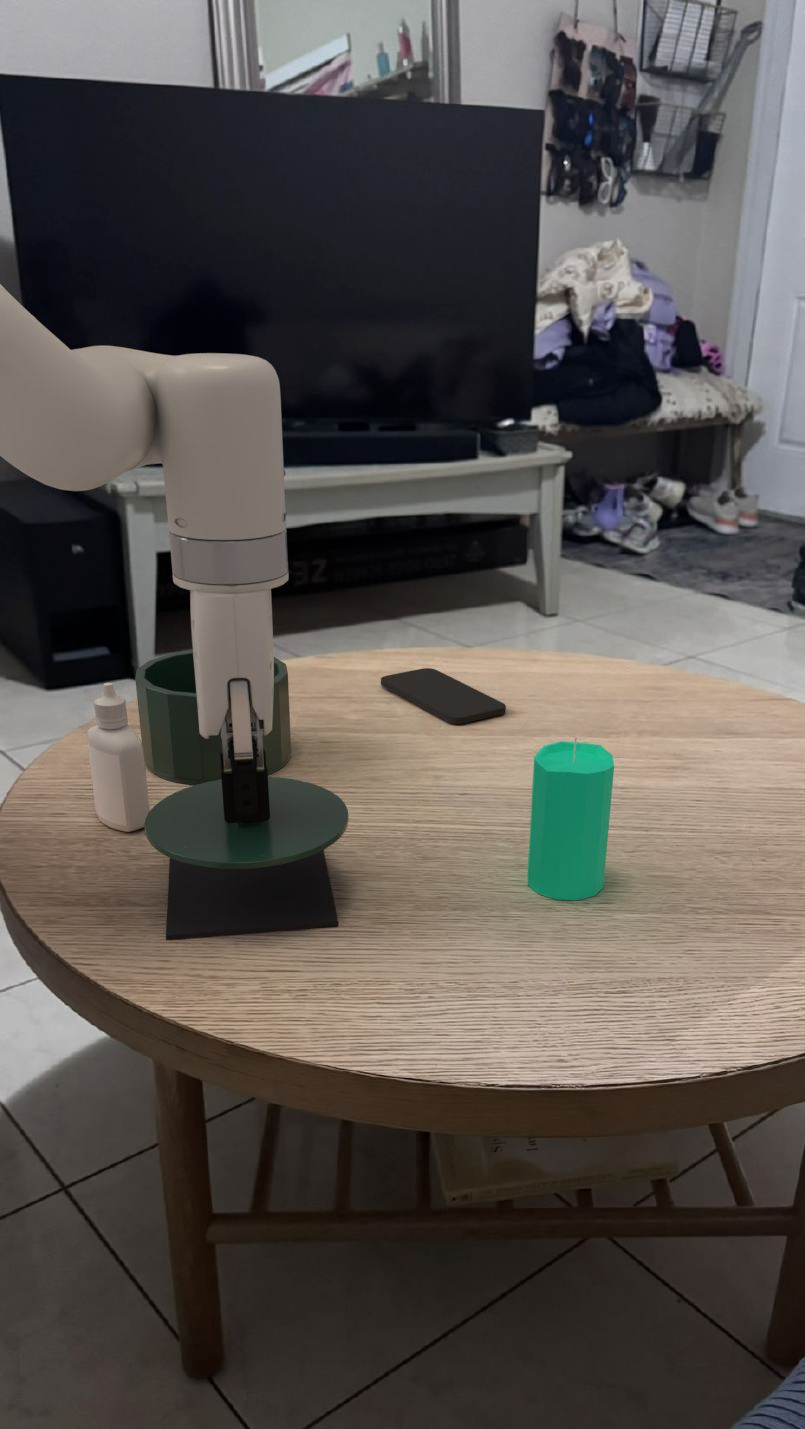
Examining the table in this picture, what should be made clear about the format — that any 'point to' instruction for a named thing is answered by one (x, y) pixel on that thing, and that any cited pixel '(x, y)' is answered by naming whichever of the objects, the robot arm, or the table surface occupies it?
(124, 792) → the eye dropper bottle
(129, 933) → the table surface
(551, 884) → the candle
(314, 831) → the tin lid
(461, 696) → the phone
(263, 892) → the mat
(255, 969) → the table surface
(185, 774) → the tin
